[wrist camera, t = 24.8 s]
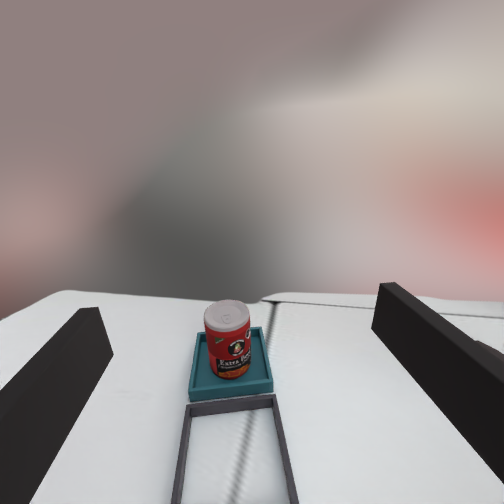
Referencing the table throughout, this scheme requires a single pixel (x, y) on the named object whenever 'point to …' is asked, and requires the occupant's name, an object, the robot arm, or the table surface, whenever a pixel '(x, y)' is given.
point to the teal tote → (214, 387)
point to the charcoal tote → (226, 407)
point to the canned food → (228, 338)
